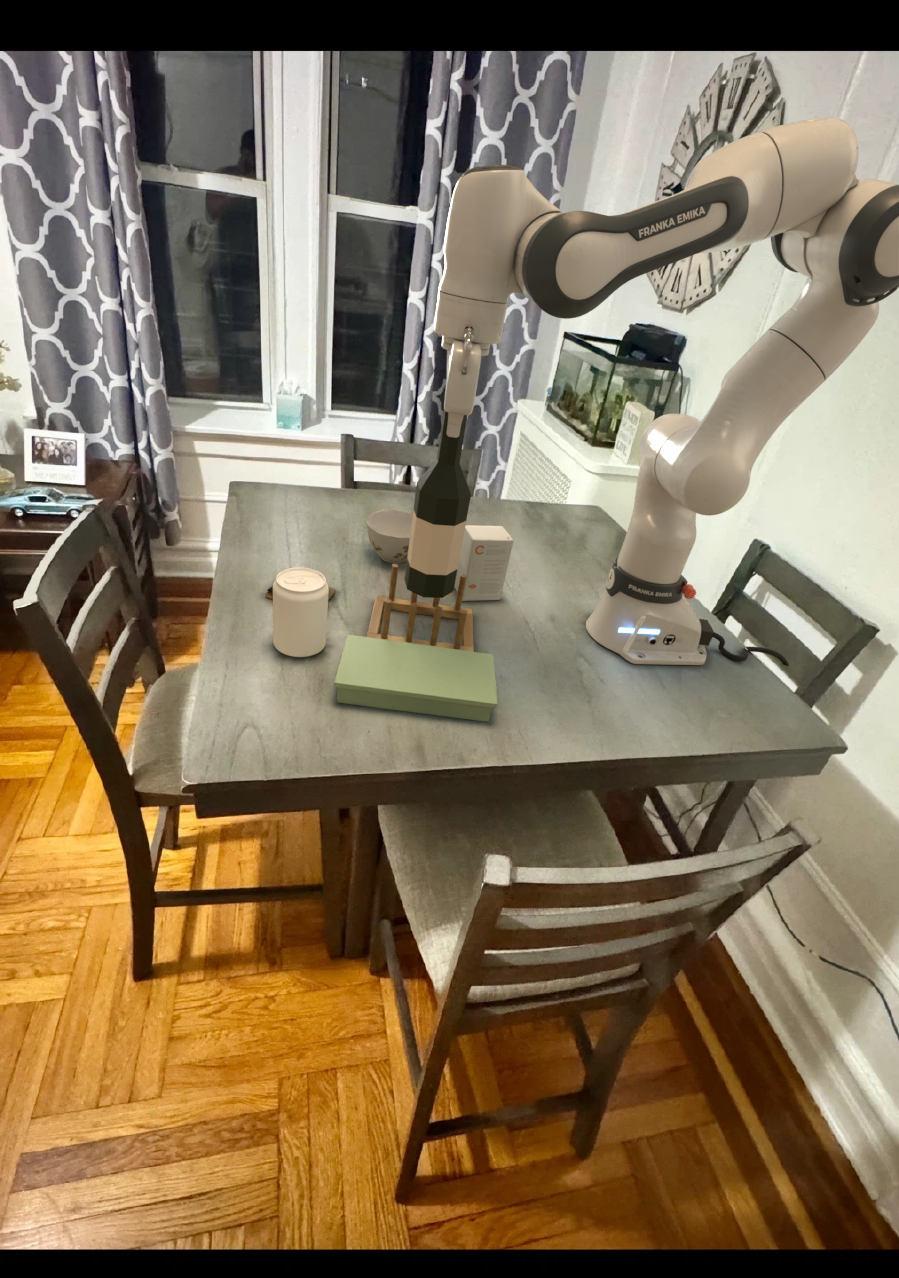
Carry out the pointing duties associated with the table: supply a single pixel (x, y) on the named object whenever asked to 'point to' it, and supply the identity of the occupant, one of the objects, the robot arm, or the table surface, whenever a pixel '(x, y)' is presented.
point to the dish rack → (434, 609)
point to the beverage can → (300, 612)
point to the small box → (484, 562)
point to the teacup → (390, 534)
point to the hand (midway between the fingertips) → (452, 431)
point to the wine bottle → (438, 520)
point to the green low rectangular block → (416, 678)
